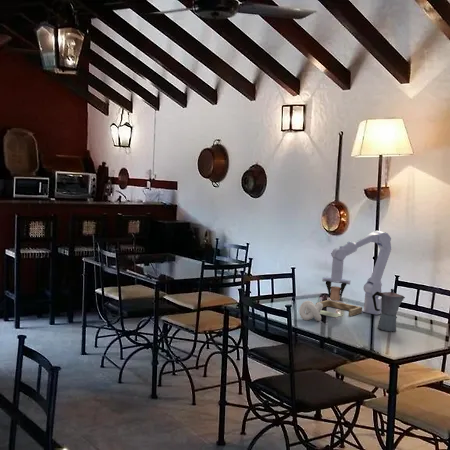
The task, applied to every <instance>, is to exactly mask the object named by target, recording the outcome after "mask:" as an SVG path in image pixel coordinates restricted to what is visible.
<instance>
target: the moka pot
mask: <svg viewBox="0 0 450 450" xmlns="http://www.w3.org/2000/svg"><path fill="white" fill-rule="evenodd" d="M376 295H378V296H379V297H380V298H381V308H382V310H381V312H382V313H381V314H380V316H379V320H378V323H377V329H379V330H381V331H385V332H390V333H391V332H392V331H393V332H396V331H397V318H398V317H397V314H398V311H399V308H400V305H401V304H402V302H403V301H404V299H405V298H406V297H405V296H404V295H402V294H399V293H395V289H393V288H391V289H390V291H388V292H387V291H385V292H383V291H381V292H376V293H375V294H374V295H373V296H372V298H373V302H374V307H375V310H376V311H380V309H377V306H376V299H375V296H376Z"/></svg>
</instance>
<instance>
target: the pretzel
mask: <svg viewBox="0 0 450 450" xmlns="http://www.w3.org/2000/svg"><path fill="white" fill-rule="evenodd" d="M318 302H319V303H318ZM318 302H316V303H317V304H316V303H314V302H313V301H312V300H305V301H303V302H302V303H301V305H300V307H299V311H298V312H299V316H300V318H301V319H302V320H303V321H310V320H312V319H315V321H316V322H321V320H322V316H321V315H322V314H320V311H321V310H322V309H323V308H324V307H323V304H322V303H320V302H321V301H318Z"/></svg>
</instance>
